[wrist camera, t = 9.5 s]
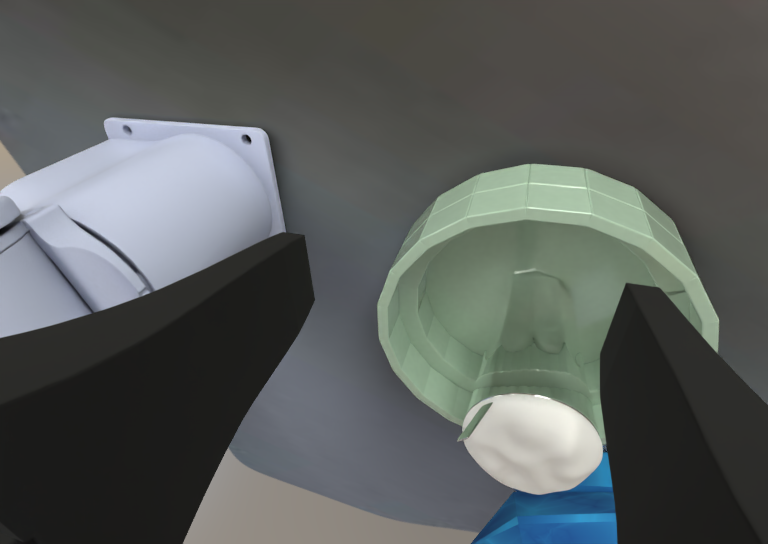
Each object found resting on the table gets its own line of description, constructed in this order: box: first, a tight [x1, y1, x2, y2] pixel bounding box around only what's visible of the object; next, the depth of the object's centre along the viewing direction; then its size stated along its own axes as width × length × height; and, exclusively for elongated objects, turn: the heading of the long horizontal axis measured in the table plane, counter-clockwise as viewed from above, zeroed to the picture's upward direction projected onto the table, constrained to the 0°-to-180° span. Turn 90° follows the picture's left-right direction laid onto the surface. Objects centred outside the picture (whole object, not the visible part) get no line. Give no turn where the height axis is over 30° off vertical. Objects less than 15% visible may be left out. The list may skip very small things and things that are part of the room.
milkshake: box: [457, 273, 603, 495], centre depth 17 cm, size 5×5×10 cm
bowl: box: [377, 164, 719, 445], centre depth 20 cm, size 13×13×4 cm
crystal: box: [471, 452, 617, 544], centre depth 25 cm, size 7×9×12 cm
